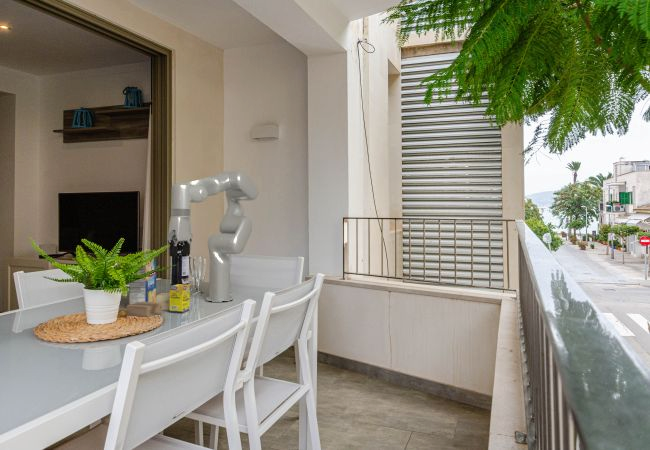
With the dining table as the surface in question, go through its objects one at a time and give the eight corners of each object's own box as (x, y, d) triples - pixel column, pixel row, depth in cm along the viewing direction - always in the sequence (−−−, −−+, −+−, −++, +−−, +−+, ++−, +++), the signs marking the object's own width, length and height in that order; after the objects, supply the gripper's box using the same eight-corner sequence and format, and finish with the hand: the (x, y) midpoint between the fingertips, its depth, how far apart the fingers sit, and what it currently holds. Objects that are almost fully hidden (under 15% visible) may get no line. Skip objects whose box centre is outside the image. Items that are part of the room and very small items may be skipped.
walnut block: (142, 313, 177) (142, 301, 177) (161, 315, 174) (161, 303, 174) (126, 318, 168) (126, 305, 168) (146, 320, 166) (146, 307, 166)
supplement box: (182, 313, 178) (182, 286, 178) (169, 312, 179) (169, 285, 179) (189, 310, 183) (190, 284, 183) (176, 309, 185) (177, 283, 185)
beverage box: (129, 309, 184) (129, 256, 184) (140, 304, 195) (141, 254, 195) (145, 309, 184) (145, 257, 184) (155, 304, 195) (156, 255, 195)
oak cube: (160, 307, 190) (161, 293, 190) (174, 307, 190) (175, 293, 190) (156, 309, 184) (156, 295, 184) (170, 310, 184) (170, 295, 184)
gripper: (183, 214, 190) (183, 253, 190) (160, 213, 173) (159, 256, 173) (199, 214, 188) (198, 254, 188) (177, 213, 171) (176, 257, 171)
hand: (180, 255), depth 181 cm, fingers open, 9 cm apart
